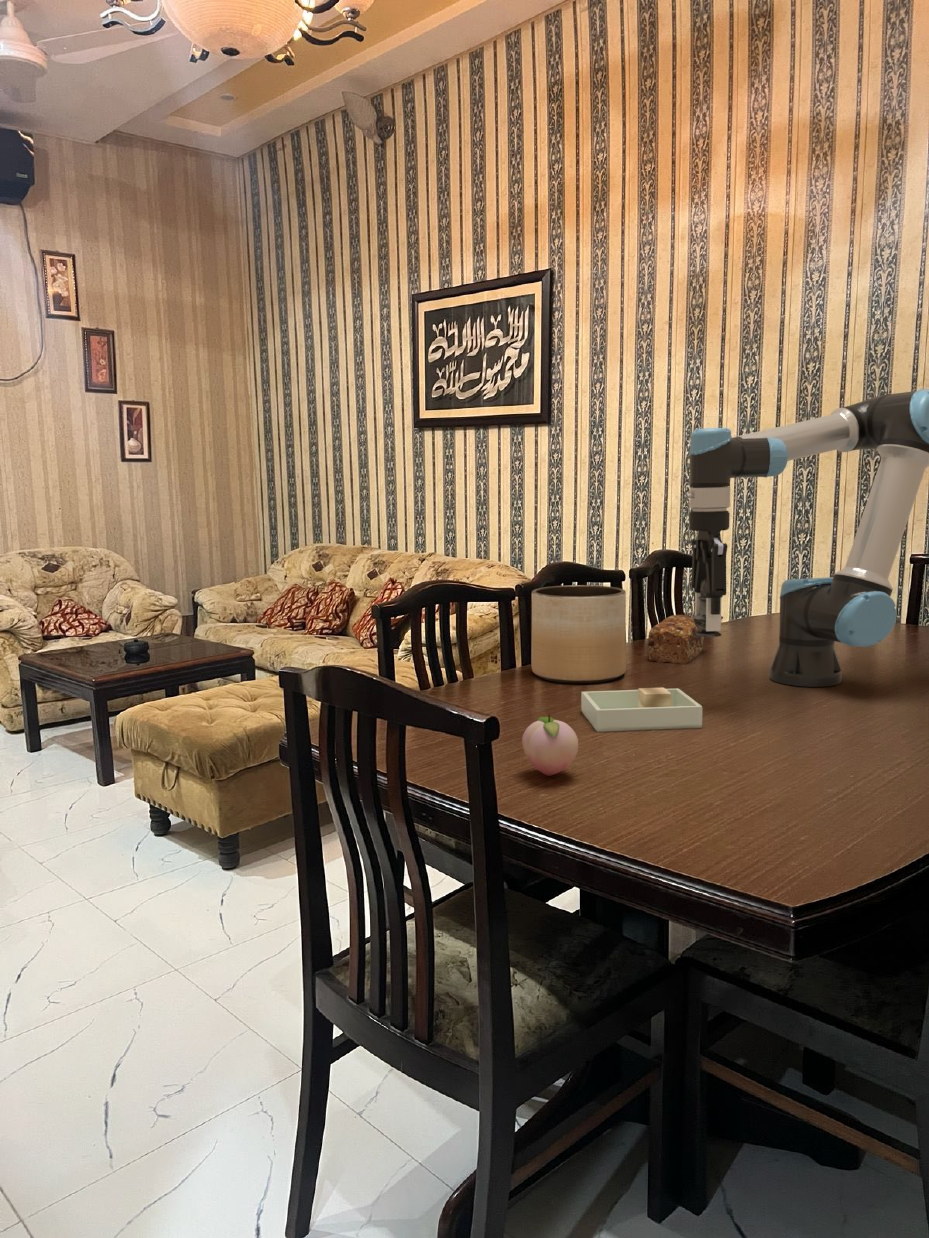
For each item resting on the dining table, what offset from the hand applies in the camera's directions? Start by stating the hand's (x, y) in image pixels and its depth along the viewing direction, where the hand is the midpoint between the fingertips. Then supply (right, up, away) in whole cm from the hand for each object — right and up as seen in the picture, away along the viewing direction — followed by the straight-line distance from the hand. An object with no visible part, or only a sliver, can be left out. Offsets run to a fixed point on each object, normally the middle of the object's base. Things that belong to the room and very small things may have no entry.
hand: (707, 627), depth 177 cm
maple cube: (-12, -17, -5) cm, 21 cm away
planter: (-21, -12, +35) cm, 42 cm away
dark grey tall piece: (0, -2, 0) cm, 2 cm away
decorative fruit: (-34, -23, -36) cm, 55 cm away
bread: (+7, -8, +54) cm, 55 cm away
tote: (-14, -18, -5) cm, 23 cm away
